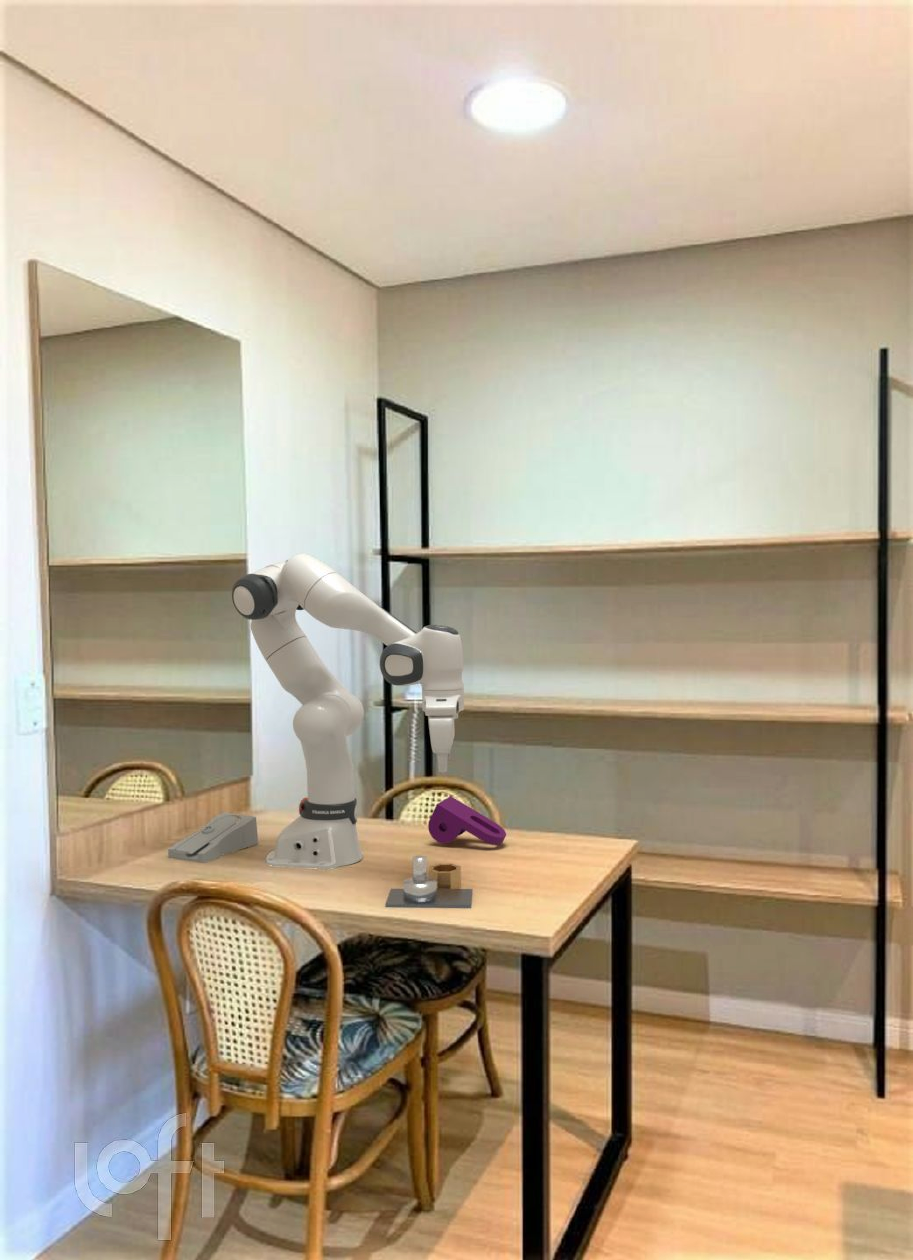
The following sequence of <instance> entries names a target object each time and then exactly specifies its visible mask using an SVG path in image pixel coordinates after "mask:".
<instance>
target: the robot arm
mask: <svg viewBox="0 0 913 1260" xmlns="http://www.w3.org/2000/svg"><path fill="white" fill-rule="evenodd" d="M231 598H232V600H231V601H232V602H233V603H232V604H233V606H234V608H235V610H236V612H238V614H239V615H241V616H242V617H243V619H246V620H249V621H250V625H249V626H250V631H251V633H252V635H253V639H254V640H255V643H256V645H257V647H258V649H259V651H260V653H261V655H262V657H263V658H264V661H265V662H266V664H267V665H268V667H269V669H270V670H271V671H272V673H273V674H274V676H275V677H276V679H277V681H278V683H279V684H280V685H281V687H282V689H283V690H285V691H286V692H287V693H288V694H290V695H291V696H293V697H294V698H295V699H296V700H297V701H298V702H299V703H300V704H301V706H300V708H298V710H297V711H296V712H295V714H294V717H293V721H292V728H293V732H294V734H295V736H296V737H297V738H298V740H299V742H300V744H301V748H302V752H303V756H304V760H305V765H306V784H307V785H306V786H307V791H306V792H307V797H303V798H302V799H301V800H300V803H299V804H298V805H299V806H298V813H299V814H298V815H299V816H298V817H297V818H295V819H294V821H292V822H290V824H288V825H287V826H286V827H284V829H282V830H281V831H280V832H279V834H278V835H277V839H276V843H275V847H274V848H275V849H274V850H272V851H270V852H269V853H268V854H267V856H266V857H265V864H266V863H267V864H268V865H272V866H271V867H274V866H285V867H284V868H289V867H294V868H293V869H304V868H317V869H316V870H320V869H329V870H332V869H331V868H333V869H336V868H339V867H344V866H349V865H352V864H355V863H358V862H360V861H361V860H362V859H363V857H364V856H363V854H362V850H361V846H360V842H359V837H358V830H357V829H358V828H357V821H358V804H357V803H358V802H357V797H356V796H355V794H356V793H355V791H356V790H355V786H356V785H355V766H354V763H353V761H352V760H351V758H350V754H349V750H348V745H347V736H350V735H351V734H354V732H355V731H356V730H357V729H358V728H359V726H360V725H361V723H362V722H363V719H364V716H365V715H364V713H365V711H364V706H363V703H362V702H361V700H360V699H359V698H358V697H357V696H356V695H355V694H353V693H351V692H350V691H349V690H348V689H347V688H346V687H345V686H344V684H343V683H342V682H341V681H340V680H339V679H338V678H337V677H336V676H335V675H334V674H333V673H332V671H331V670H330V669H329V668H328V667H327V666H326V664H325V663H324V662H323V660H322V659H321V658H320V656H319V654H318V653H317V651H316V650H315V648H314V647H313V645H312V643H311V642H310V640H309V639H308V637H307V636H306V633H305V632H304V631H303V629H302V628H301V626H300V625H299V624H298V622H297V618H296V612H297V611H303V610H304V611H305V612H306V613H308V614H309V615H310V616H311V617H312V618H314V619H315V620H316V621H318V622H320V623H322V624H324V625H326V626H327V627H330V628H332V629H340V630H341V629H344V630H351V631H357V632H362V633H365V634H368V635H370V636H372V637H374V638H376V639H377V640H379V641H380V642H382V643H383V644H384V645H385V646H386V647H385V648H384V649H383V651H382V652H381V655H380V658H379V668H380V673H381V675H382V677H383V678H384V679H385V681H386V682H387V683H389V684H391V685H393V686H398V687H407V686H408V687H409V686H415V685H418V684H419V685H421V706H422V707H421V708H422V709H421V710H422V711H423V712H424V715H425V716H427V720H428V722H427V723H428V729H429V737H430V745H431V746H430V747H431V750H432V753H433V754H436V757H437V764H438V765H437V766H438V772H439V773H447V772H448V765H449V763H450V762H451V761H450V760H451V749H452V746H453V742H454V739H455V731H456V730H455V720H457V719H459V713H460V712H462V711H464V710H465V695H464V694H465V688H464V683H463V679H462V675H463V669H464V651H463V643H462V638H461V635H460V633H459V631H457V629H455V628H454V627H450V626H446V625H437V624H429V625H425V626H424V627H422V629H420V631H415V630H414V629H412V628H411V627H409V626H408V625H407V624H405V623H404V622H403V621H401V620H400V619H399V618H397V617H396V616H395V615H393V614H392V613H390V612H389V611H388V610H386V609H385V608H383V607H381V606H380V605H378V604H377V603H375V602H374V601H373V600H372V599H370V597H368V596H366V595H365V594H364V593H363V592H361V591H360V590H359V589H358V588H356V587H355V586H354V585H353V584H351V582H349V581H348V580H346V579H345V577H343V576H341V574H340V573H338V572H337V571H336V570H335V569H333V568H331V567H330V566H329V565H327V564H326V563H325V562H322V561H321V560H319V559H317V558H316V557H314V556H312V555H309V554H307V553H298V554H296V555H293V556H291V557H290V558H289V559H286V560H285V561H281V562H276V563H273V564H269V565H267V566H265V567H262V568H261V569H258V570H256V571H254V572H253V573H248V574H245V575H244V576H242V577H240V578H239V579H238V580H236V582H235V583H234V584H233V587H232V590H231ZM267 864H266V865H267ZM268 865H267V866H268ZM296 867H297V868H296Z"/></svg>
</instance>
